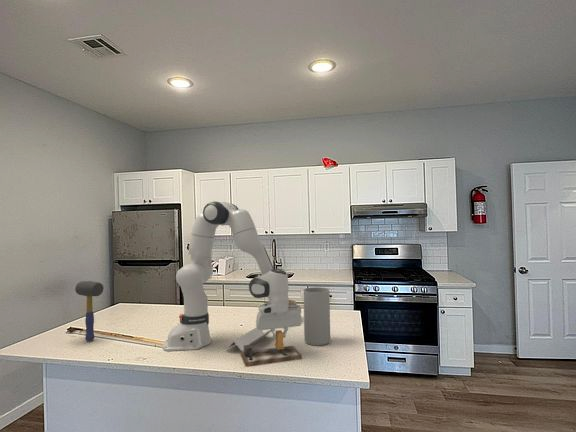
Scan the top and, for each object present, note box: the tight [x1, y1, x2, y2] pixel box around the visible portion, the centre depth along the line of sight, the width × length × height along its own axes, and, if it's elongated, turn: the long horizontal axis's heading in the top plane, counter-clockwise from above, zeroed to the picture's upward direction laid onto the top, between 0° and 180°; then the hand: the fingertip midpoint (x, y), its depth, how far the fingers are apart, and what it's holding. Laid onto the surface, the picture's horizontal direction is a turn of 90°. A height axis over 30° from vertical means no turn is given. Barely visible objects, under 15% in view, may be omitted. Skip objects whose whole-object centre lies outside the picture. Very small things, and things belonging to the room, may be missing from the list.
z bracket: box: [225, 327, 272, 352], centre depth 164 cm, size 12×25×6 cm
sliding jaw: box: [274, 330, 285, 355], centre depth 149 cm, size 3×9×8 cm, turn 17°
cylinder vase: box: [303, 286, 331, 347], centre depth 166 cm, size 12×12×25 cm
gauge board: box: [240, 345, 303, 367], centre depth 148 cm, size 24×12×5 cm, turn 107°
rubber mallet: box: [74, 280, 104, 343], centre depth 173 cm, size 12×8×30 cm, turn 69°
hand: (279, 337), depth 151 cm, fingers closed on sliding jaw, 2 cm apart
